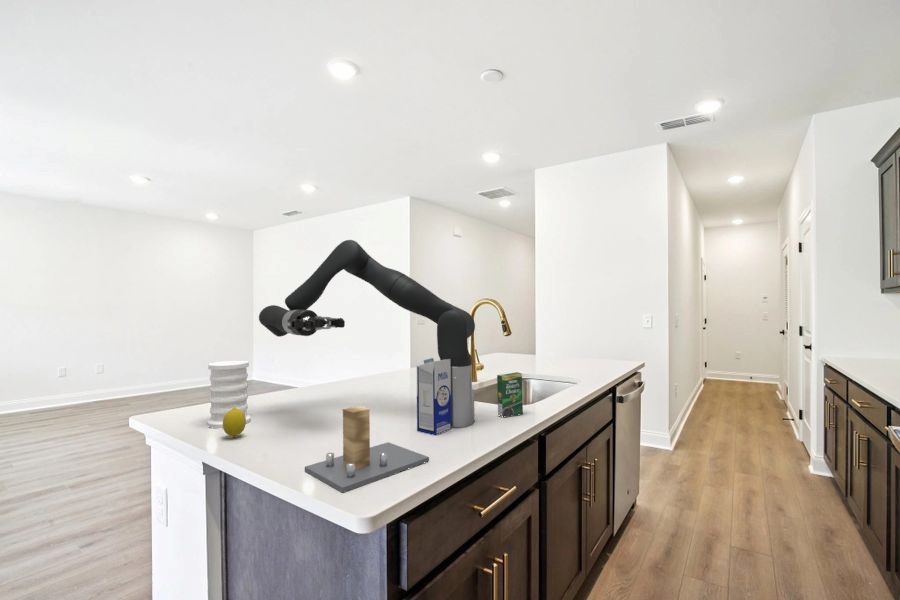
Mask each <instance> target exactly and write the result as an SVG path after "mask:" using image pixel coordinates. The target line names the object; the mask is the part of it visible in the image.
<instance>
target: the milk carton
mask: <svg viewBox="0 0 900 600" xmlns="http://www.w3.org/2000/svg"><path fill="white" fill-rule="evenodd" d="M416 429H417V430H416V432H419V431H420V433H423V432H424V434H428V433H429V435H432V434H433V436H437V434H438V435H440V434H442V432H443V433H445V432H444V431H446V432H448V431H450V430H449V429H451V430H452V427H451V370H450V359H445V360H440V359H439V360H434V357H431V358H428V359H423V364H419V365H416ZM447 430H448V431H447ZM439 433H440V434H439Z"/></svg>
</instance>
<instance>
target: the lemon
mask: <svg viewBox="0 0 900 600" xmlns="http://www.w3.org/2000/svg"><path fill="white" fill-rule="evenodd" d="M246 425H247V424H246V418H245V414H244V413H243V412H242V411H241V410H240V409H237V408H232V409H231V410H229V411H228V412H227V413H226V414H225V416H224V419H223V431H224V433H225V434H227V435H228V436H231V437H232V438H234V439H235V438H236V437H238V435H240V434H241V433H243V432H244V430H245V428H246Z"/></svg>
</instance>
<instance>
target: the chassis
mask: <svg viewBox="0 0 900 600" xmlns="http://www.w3.org/2000/svg"><path fill="white" fill-rule="evenodd" d="M325 458H326V459H325V460H323V461H319V462H315V463H312V464H309V465H306V466H304V472H305V473H307V474H308V475H310V476H312V477H314V478H315V479H317V480H319V481H321V482H322V483H324V484H326V485H328V486H329V487H331V488H333V489H335V490H336V491H338V492H340V493H342V494H343V493H347V492H349V491H352V490H354V489H357V488H361V487H363V486H366V485H369V484H371V483H374V482H377V481H379V480H382V479H385V478H387V477H390V475H391V476H393V475H396V474H398V473H397V472H399V473H401V472H400V471H402V472H404V471H403V470H405V471H406V469H407V470H409V469H408V468H410V469H412V468H411V467H413V466H416V465H418V466H420V465H419V464H421V463H424V462H427V461H429V462H430V456H427V455H425V454H422V453H419V452H416V451H414V450H411V449H409V448H405V447H402V446H400V445H398V444H394V443H391V442H384V443H381V444H378V445H374V446H371V447H370V466H367V467H364V468H360V469H357V470H355V463H354V462H349V463H347V467H345V466H343V455H340V456H336V457H335V452H327V453H326V455H325ZM427 463H428V462H427ZM424 464H425V463H424ZM421 465H422V464H421ZM416 467H417V466H416ZM413 468H414V467H413ZM395 473H396V474H395Z"/></svg>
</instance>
